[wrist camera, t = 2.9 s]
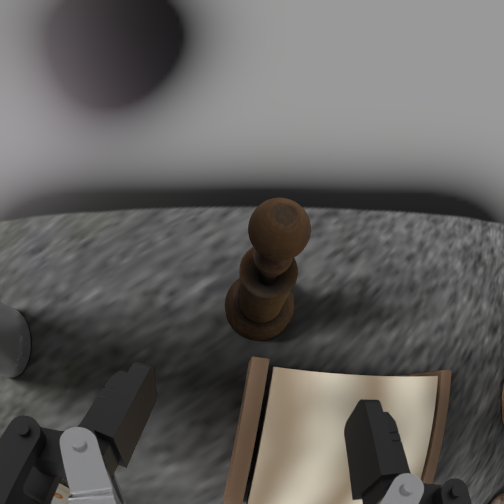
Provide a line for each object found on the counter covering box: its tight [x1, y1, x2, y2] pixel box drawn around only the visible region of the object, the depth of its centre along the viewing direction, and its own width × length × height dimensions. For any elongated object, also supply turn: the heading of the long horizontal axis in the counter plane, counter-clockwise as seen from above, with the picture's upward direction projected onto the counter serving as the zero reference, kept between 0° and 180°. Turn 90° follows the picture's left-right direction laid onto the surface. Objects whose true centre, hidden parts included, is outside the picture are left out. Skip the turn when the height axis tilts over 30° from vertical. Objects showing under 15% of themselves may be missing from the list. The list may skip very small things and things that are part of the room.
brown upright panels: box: [223, 356, 452, 504], centre depth 19 cm, size 17×16×8 cm
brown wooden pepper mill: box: [225, 198, 311, 341], centre depth 21 cm, size 7×6×18 cm
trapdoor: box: [246, 367, 438, 504], centre depth 18 cm, size 14×14×6 cm
